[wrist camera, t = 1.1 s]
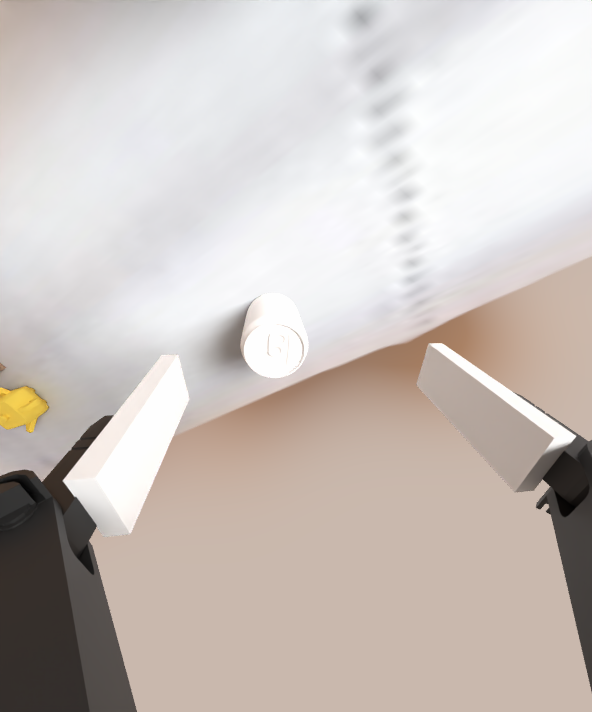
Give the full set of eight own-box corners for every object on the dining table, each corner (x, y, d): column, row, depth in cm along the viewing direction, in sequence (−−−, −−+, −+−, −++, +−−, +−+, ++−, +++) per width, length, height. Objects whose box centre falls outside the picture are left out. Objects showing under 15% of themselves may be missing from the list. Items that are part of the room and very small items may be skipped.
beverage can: (243, 336, 39) (235, 376, 29) (250, 287, 36) (243, 312, 25) (292, 344, 41) (301, 385, 30) (303, 297, 37) (317, 325, 27)
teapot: (68, 410, 42) (44, 432, 38) (37, 419, 43) (10, 442, 38) (31, 373, 39) (0, 393, 34) (-2, 384, 39) (-37, 405, 34)
